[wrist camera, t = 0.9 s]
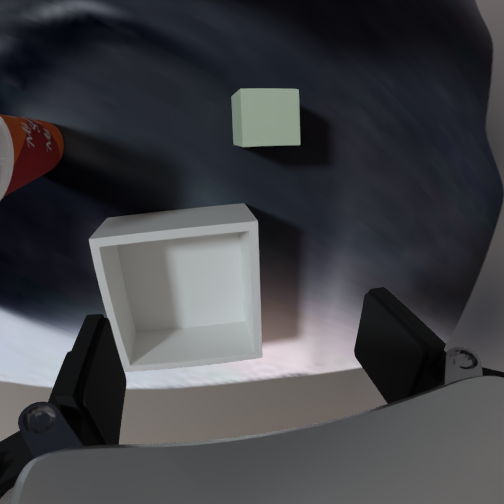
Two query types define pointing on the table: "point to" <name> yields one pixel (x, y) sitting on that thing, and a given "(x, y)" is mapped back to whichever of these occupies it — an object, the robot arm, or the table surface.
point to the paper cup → (26, 151)
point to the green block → (266, 117)
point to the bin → (181, 286)
